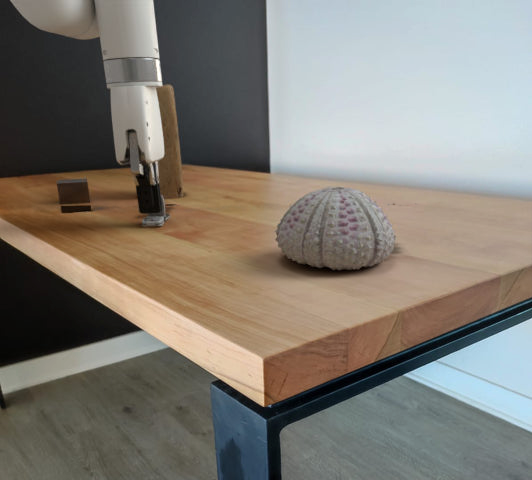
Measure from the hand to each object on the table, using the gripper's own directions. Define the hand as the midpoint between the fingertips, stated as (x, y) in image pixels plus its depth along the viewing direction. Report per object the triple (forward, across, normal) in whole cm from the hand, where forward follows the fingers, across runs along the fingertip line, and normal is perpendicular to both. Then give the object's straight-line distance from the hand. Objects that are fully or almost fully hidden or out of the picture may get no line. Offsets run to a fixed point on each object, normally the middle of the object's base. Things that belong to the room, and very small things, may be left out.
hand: (151, 212), depth 82 cm
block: (+2, -21, -3) cm, 22 cm away
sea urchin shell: (+3, +21, +26) cm, 34 cm away
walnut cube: (+2, -14, -17) cm, 22 cm away
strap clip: (+2, -2, 0) cm, 3 cm away
